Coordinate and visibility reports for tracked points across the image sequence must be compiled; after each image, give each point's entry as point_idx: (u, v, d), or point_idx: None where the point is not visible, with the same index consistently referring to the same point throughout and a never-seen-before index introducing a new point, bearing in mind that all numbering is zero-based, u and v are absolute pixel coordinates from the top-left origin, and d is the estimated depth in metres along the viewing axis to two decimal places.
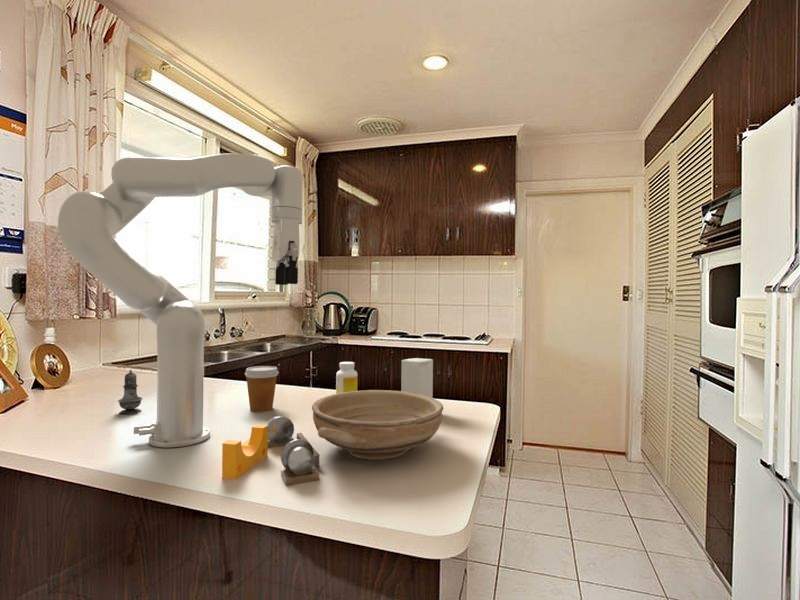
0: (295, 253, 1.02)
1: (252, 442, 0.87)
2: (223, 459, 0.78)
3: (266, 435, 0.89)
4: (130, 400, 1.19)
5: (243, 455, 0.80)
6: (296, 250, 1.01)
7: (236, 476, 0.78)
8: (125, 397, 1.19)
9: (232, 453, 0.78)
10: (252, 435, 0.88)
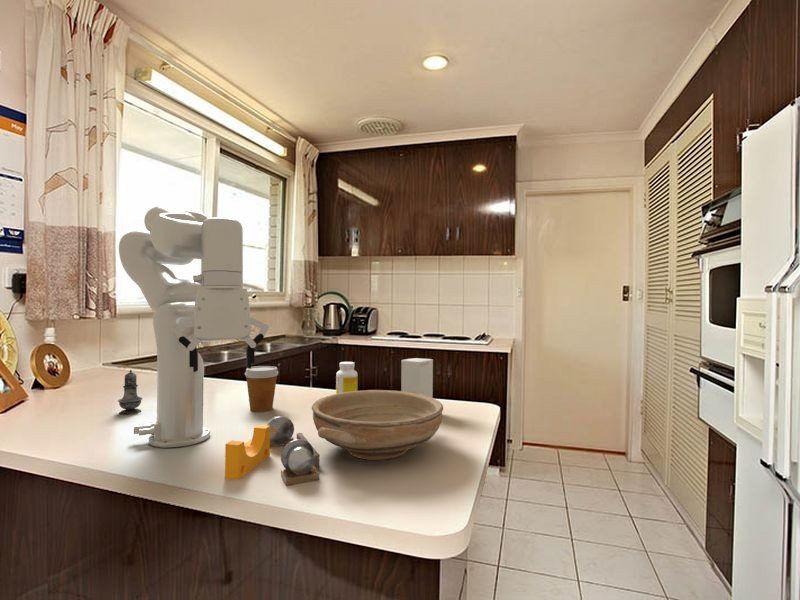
0: None
1: (254, 443, 0.87)
2: (226, 460, 0.78)
3: (269, 436, 0.89)
4: (130, 400, 1.19)
5: (246, 456, 0.80)
6: (267, 327, 0.88)
7: (239, 477, 0.78)
8: (125, 397, 1.19)
9: (236, 454, 0.78)
10: (254, 435, 0.88)
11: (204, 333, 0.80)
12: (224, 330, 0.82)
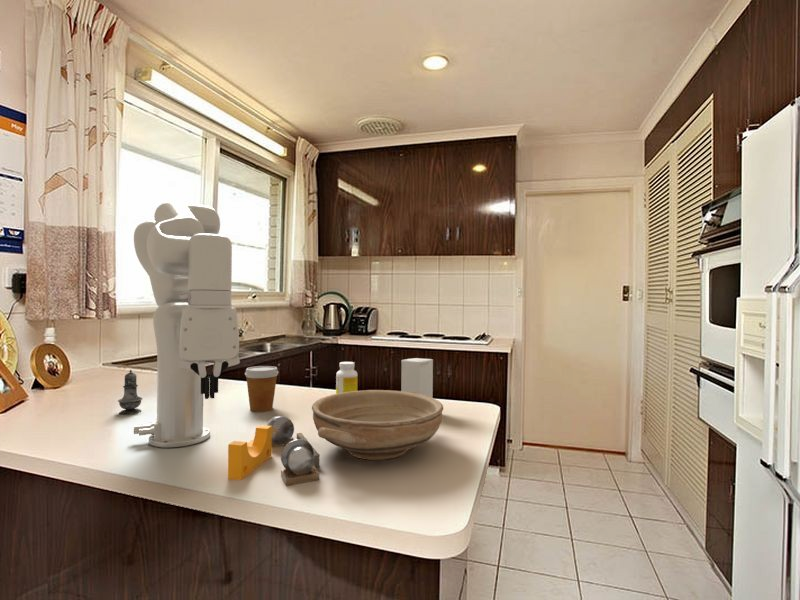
0: (233, 364, 0.83)
1: (256, 443, 0.87)
2: (229, 460, 0.78)
3: (270, 436, 0.89)
4: (130, 400, 1.19)
5: (249, 456, 0.80)
6: None
7: (242, 477, 0.78)
8: (125, 397, 1.19)
9: (239, 454, 0.78)
10: (256, 436, 0.87)
11: (190, 355, 0.77)
12: (211, 351, 0.79)
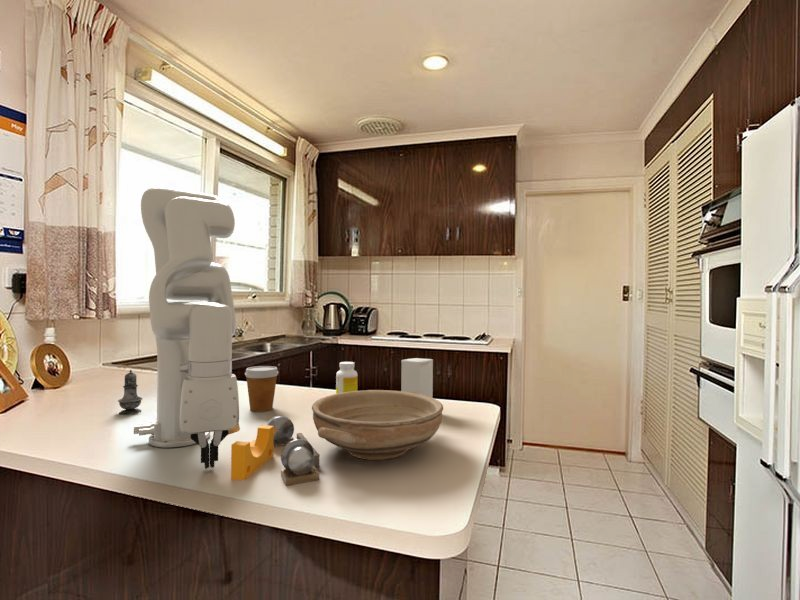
0: None
1: (259, 443, 0.87)
2: (232, 460, 0.78)
3: (272, 436, 0.89)
4: (130, 400, 1.19)
5: (251, 456, 0.80)
6: None
7: (245, 477, 0.78)
8: (125, 397, 1.19)
9: (242, 454, 0.77)
10: (258, 436, 0.87)
11: (191, 427, 0.78)
12: (212, 422, 0.79)
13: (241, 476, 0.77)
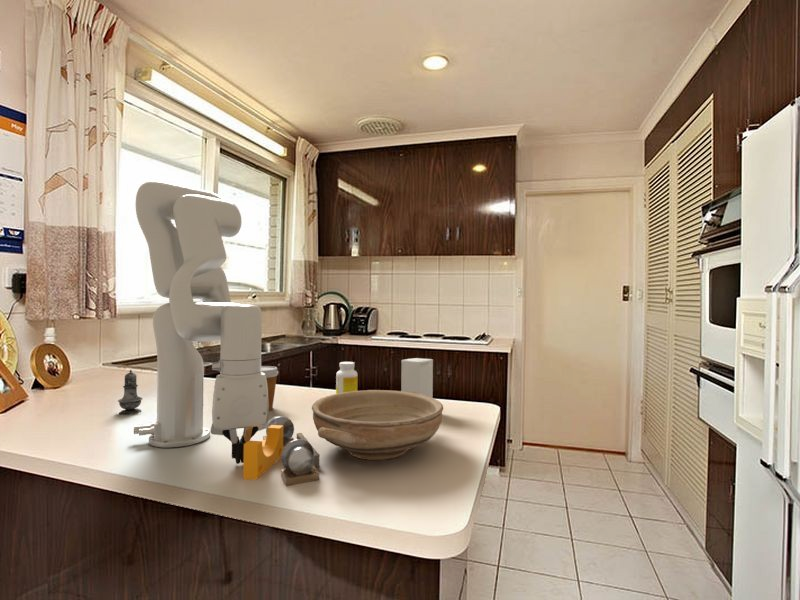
0: None
1: (269, 442, 0.87)
2: (244, 460, 0.78)
3: (282, 435, 0.89)
4: (130, 400, 1.19)
5: (263, 455, 0.80)
6: None
7: (258, 476, 0.78)
8: (125, 397, 1.19)
9: (254, 453, 0.78)
10: (268, 435, 0.88)
11: (223, 423, 0.80)
12: (243, 419, 0.81)
13: (253, 475, 0.78)
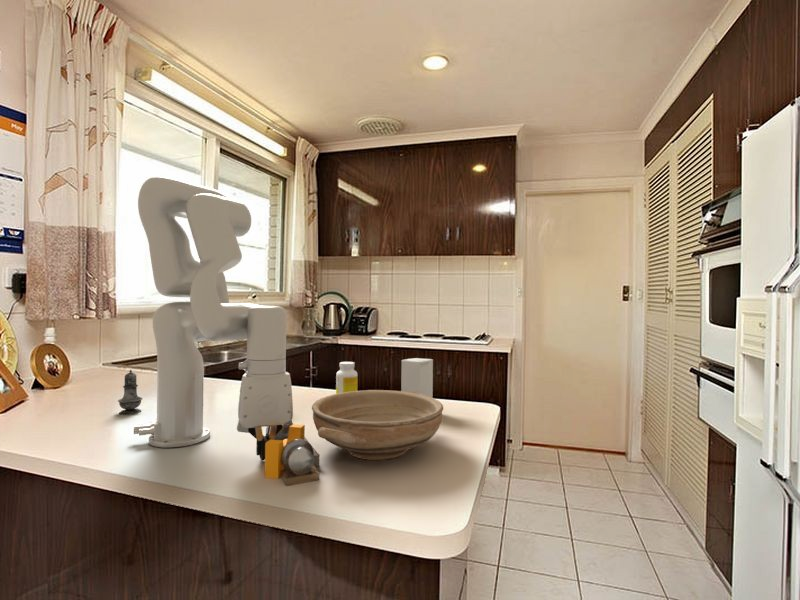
0: None
1: None
2: (266, 458, 0.79)
3: (303, 435, 0.90)
4: (130, 400, 1.19)
5: None
6: None
7: (279, 475, 0.79)
8: (125, 397, 1.19)
9: (276, 452, 0.78)
10: (290, 434, 0.88)
11: (250, 421, 0.82)
12: (268, 417, 0.84)
13: (275, 474, 0.78)
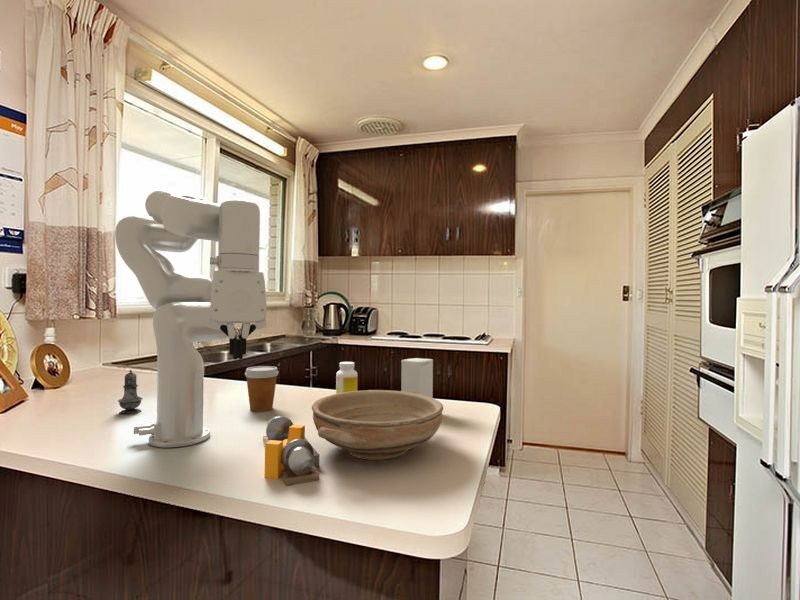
0: (260, 328, 0.86)
1: None
2: (266, 459, 0.79)
3: (304, 435, 0.90)
4: (130, 400, 1.19)
5: None
6: None
7: (278, 476, 0.79)
8: (125, 397, 1.19)
9: (275, 453, 0.78)
10: (290, 435, 0.88)
11: (221, 316, 0.80)
12: (241, 313, 0.81)
13: (274, 475, 0.78)
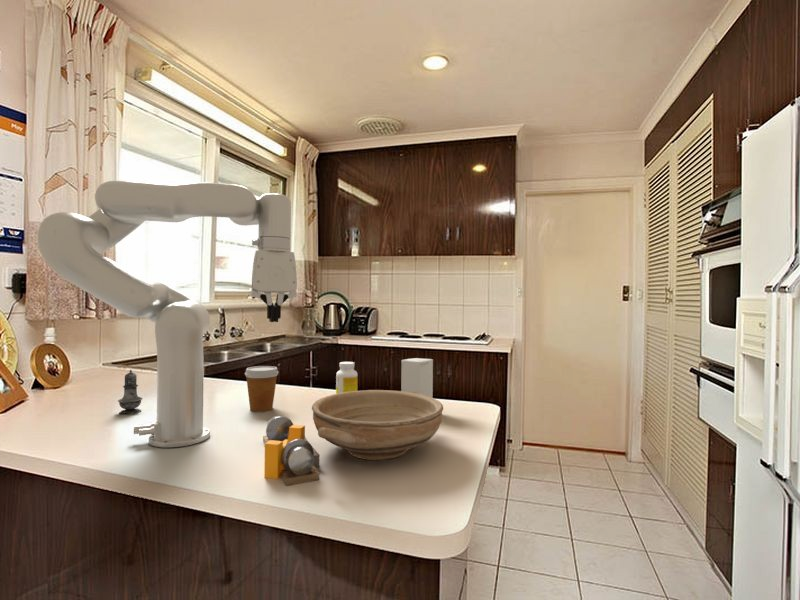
0: (291, 297, 1.06)
1: None
2: (265, 459, 0.78)
3: (304, 435, 0.89)
4: (130, 400, 1.19)
5: None
6: (294, 296, 1.06)
7: (278, 476, 0.79)
8: (125, 397, 1.19)
9: (275, 453, 0.78)
10: (290, 435, 0.88)
11: (262, 286, 1.00)
12: (277, 284, 1.02)
13: (274, 475, 0.78)
